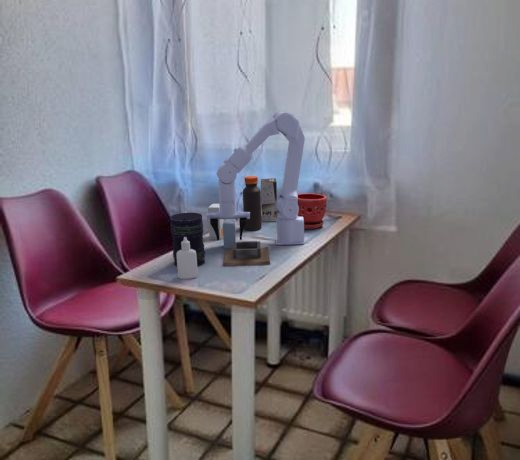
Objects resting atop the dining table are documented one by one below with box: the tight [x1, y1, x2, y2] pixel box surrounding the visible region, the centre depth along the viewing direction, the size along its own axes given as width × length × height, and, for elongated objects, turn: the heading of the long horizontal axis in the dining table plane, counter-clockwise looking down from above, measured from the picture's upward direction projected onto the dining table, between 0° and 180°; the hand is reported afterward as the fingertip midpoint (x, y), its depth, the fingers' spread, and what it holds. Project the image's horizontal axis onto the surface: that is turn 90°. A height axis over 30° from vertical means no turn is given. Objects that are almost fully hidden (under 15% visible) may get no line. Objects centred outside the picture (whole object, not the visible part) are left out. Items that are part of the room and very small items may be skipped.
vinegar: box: [242, 175, 263, 232], centre depth 181 cm, size 7×7×20 cm
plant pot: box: [297, 192, 328, 230], centre depth 183 cm, size 13×13×12 cm
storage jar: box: [169, 212, 206, 268], centre depth 147 cm, size 10×10×15 cm
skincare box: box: [207, 203, 225, 241], centre depth 172 cm, size 6×4×12 cm
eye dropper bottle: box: [176, 237, 199, 280], centre depth 136 cm, size 4×6×12 cm
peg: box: [222, 221, 237, 249], centre depth 162 cm, size 4×4×8 cm
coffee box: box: [260, 178, 278, 222], centre depth 195 cm, size 9×6×16 cm
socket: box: [223, 240, 271, 267], centre depth 152 cm, size 14×14×4 cm
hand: (229, 239), depth 163 cm, fingers open, 7 cm apart
